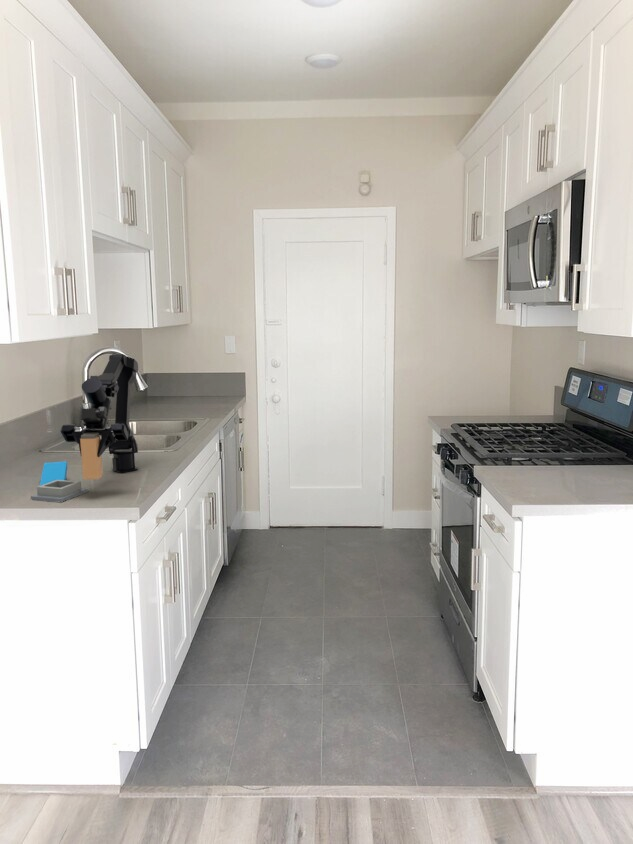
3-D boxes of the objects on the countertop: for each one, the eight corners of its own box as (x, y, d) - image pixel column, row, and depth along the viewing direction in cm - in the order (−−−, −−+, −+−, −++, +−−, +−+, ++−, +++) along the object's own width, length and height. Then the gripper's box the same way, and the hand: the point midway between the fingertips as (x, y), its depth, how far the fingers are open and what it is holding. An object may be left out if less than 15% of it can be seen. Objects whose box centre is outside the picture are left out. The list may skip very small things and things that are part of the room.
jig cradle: (58, 489, 212) (57, 478, 211) (88, 491, 208) (87, 480, 208) (30, 499, 201) (29, 488, 200) (61, 502, 197) (60, 490, 196)
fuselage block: (88, 475, 204) (84, 432, 202) (102, 475, 204) (99, 432, 202) (83, 479, 200) (79, 435, 197) (98, 479, 200) (95, 435, 197)
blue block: (66, 502, 214) (69, 474, 230) (63, 483, 211) (67, 456, 227) (42, 504, 213) (47, 476, 228) (39, 485, 210) (45, 457, 225)
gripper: (60, 397, 202) (48, 441, 193) (123, 396, 202) (115, 440, 193) (71, 419, 211) (61, 462, 202) (131, 418, 211) (124, 461, 202)
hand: (90, 456), depth 199 cm, fingers closed on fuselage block, 4 cm apart
